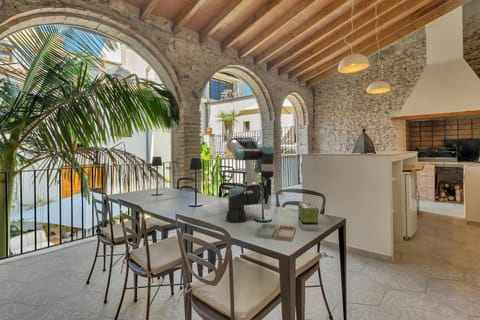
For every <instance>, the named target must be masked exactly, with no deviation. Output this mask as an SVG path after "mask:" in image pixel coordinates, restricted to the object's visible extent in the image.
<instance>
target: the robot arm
mask: <svg viewBox="0 0 480 320" xmlns="http://www.w3.org/2000/svg"><path fill="white" fill-rule="evenodd" d="M226 147H227V149H228V151H229V152H231V153H233V158H234V160H236V161H244V165H245V174H246V183H247V185H246V186H245V187H244V186H237V187H232V188H230V189H229V190H228V198H227V199H228V201H227V202H228V203H227V204H228V210H227V213H226V216H225V221H226V222H229V223H232V224H233V223H234V224H240V223H243V222H246V221H247V219H248V217H247V213H246V211H245V206H253V205H254V206H255V205H263V200H262V194H261V188H263V199H264V209H263V210H268V209H269V199H268V195H271V198H272V197H273V195H272V181H273V180H272V179H271V178H274V174H275V173H274V167H275V165H274V162H275V161H274V159H275V154H274V153H275V149H274V148H275V147H274V146H273V145H262V146H261V147H259V143H258V140H257V139H256V138H255V137H235V138H232V139H230V140H229V141H227V144H226ZM255 160H256V161H261V164H260V165H261V166H260V167H261V169H260V170H261V174H260V175H261V177H262V178H263V179H264V180H263V182H262V185H261V184H260V183H259V177H258V176H259V175H258V172H257V173H256V172H255V171H254V166H255V165H254V163H255Z"/></svg>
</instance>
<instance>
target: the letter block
mask: <svg viewBox="0 0 480 320" xmlns="http://www.w3.org/2000/svg"><path fill="white" fill-rule="evenodd" d="M271 195H272V194H271ZM271 195H268V199H269V209H267V210H271V209H272V197H271ZM262 210H265V209H264V199H263V203H262Z"/></svg>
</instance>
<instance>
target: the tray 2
mask: <svg viewBox="0 0 480 320" xmlns="http://www.w3.org/2000/svg"><path fill="white" fill-rule="evenodd" d="M296 228H297V227H296V226H291V225H290V226H289V225H282V224H281V225H279V226H278V229H277V231H276V232H275V234H274V236H273V237H274V240H279V241H286V242H287V241H288V242H292V241H293V239H294V236H295V234H296ZM281 230H283V231H291V232H292V234H291V236H290V235H282V234H281V235H280V234H279V233H280V231H281Z"/></svg>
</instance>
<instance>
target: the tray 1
mask: <svg viewBox="0 0 480 320" xmlns="http://www.w3.org/2000/svg"><path fill="white" fill-rule="evenodd" d="M263 228H264V229H265V228H268V229H273V230H272V232H271V233H265V232H261V231H262V230H263ZM278 228H279V226H278V224H271V223H264V222H263V223H262V224H260V226H259V227H258V229H257V230H256V231H255V232H254V233H255V235H254V236H255V238H256V237H257V238H262V237H263V238H264V239H271V240H272V239H273V237H274V235H275V233H276V231H277V229H278Z"/></svg>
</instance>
